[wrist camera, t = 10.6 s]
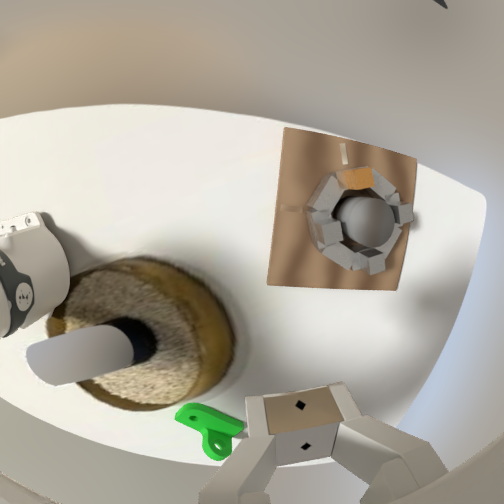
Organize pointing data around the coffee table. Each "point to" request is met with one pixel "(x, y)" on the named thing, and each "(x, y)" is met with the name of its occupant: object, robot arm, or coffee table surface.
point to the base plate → (299, 191)
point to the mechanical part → (211, 428)
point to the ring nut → (329, 229)
